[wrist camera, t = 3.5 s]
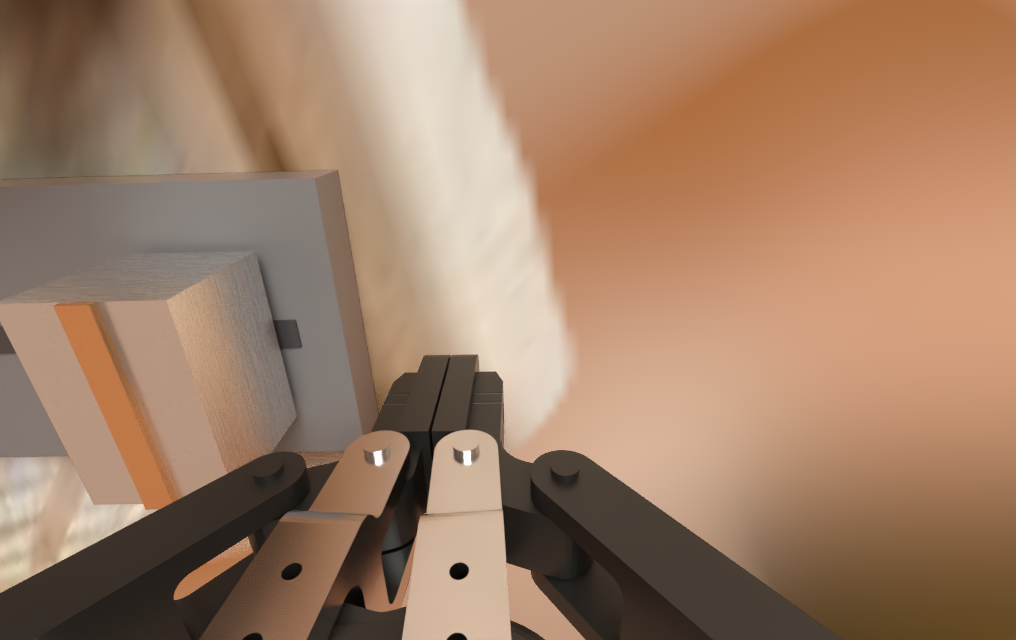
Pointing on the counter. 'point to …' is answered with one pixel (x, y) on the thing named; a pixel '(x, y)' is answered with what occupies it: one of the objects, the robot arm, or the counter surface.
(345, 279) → the slider panel
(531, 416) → the counter surface
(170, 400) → the slider knob
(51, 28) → the counter surface
